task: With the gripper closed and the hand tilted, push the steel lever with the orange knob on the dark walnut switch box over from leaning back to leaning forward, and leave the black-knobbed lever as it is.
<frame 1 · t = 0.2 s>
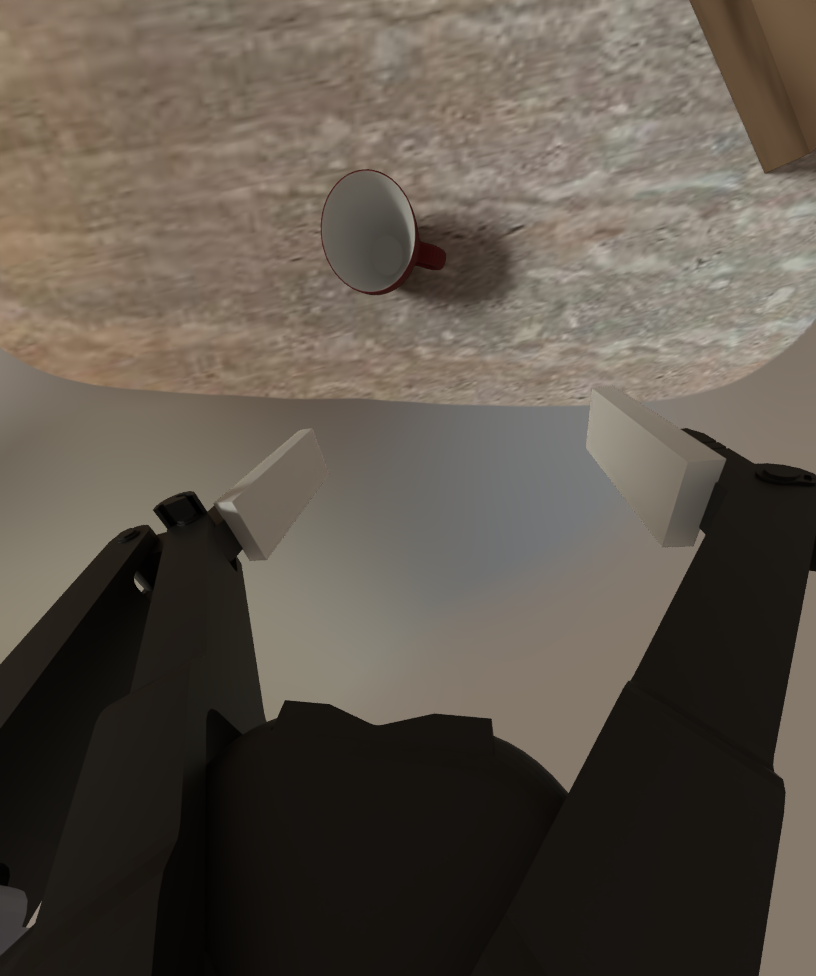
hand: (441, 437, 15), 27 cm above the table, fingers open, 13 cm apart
mug: (398, 257, 34), on the table
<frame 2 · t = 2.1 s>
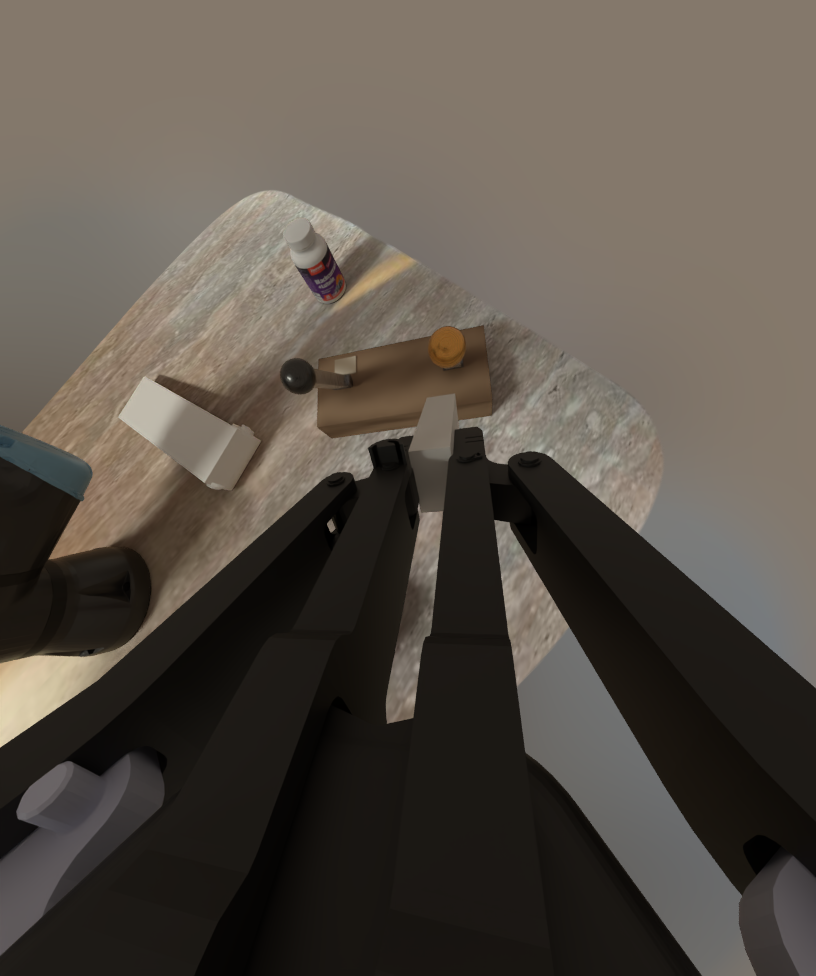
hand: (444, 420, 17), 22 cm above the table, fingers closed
orange knob lever: (450, 355, 30), point 10 cm above the table, hinge at -28.0°
pill bottle: (331, 291, 49), on the table
black knob lever: (321, 379, 33), point 10 cm above the table, hinge at -28.0°
switch box: (405, 393, 42), on the table
wall bracket: (195, 432, 51), on the table
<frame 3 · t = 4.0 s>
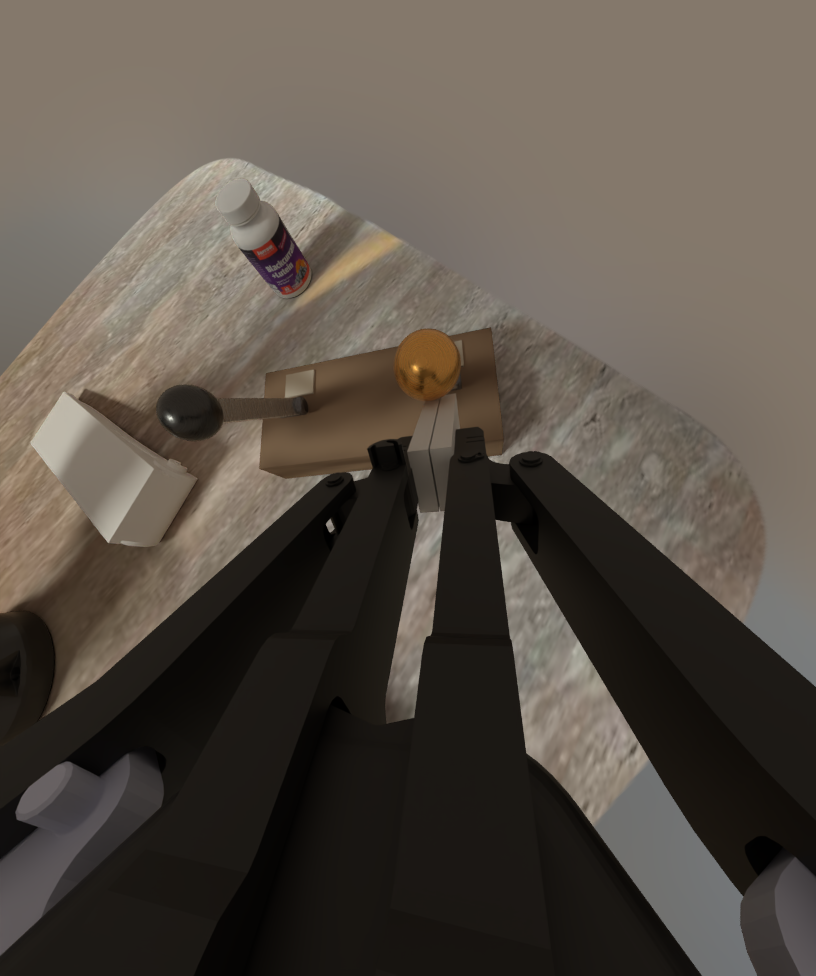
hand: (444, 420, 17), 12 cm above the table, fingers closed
orange knob lever: (438, 375, 19), point 10 cm above the table, hinge at -26.9°, touching gripper
pill bottle: (294, 282, 38), on the table
black knob lever: (248, 410, 22), point 10 cm above the table, hinge at -28.0°
switch box: (383, 420, 31), on the table
wall bracket: (122, 464, 40), on the table
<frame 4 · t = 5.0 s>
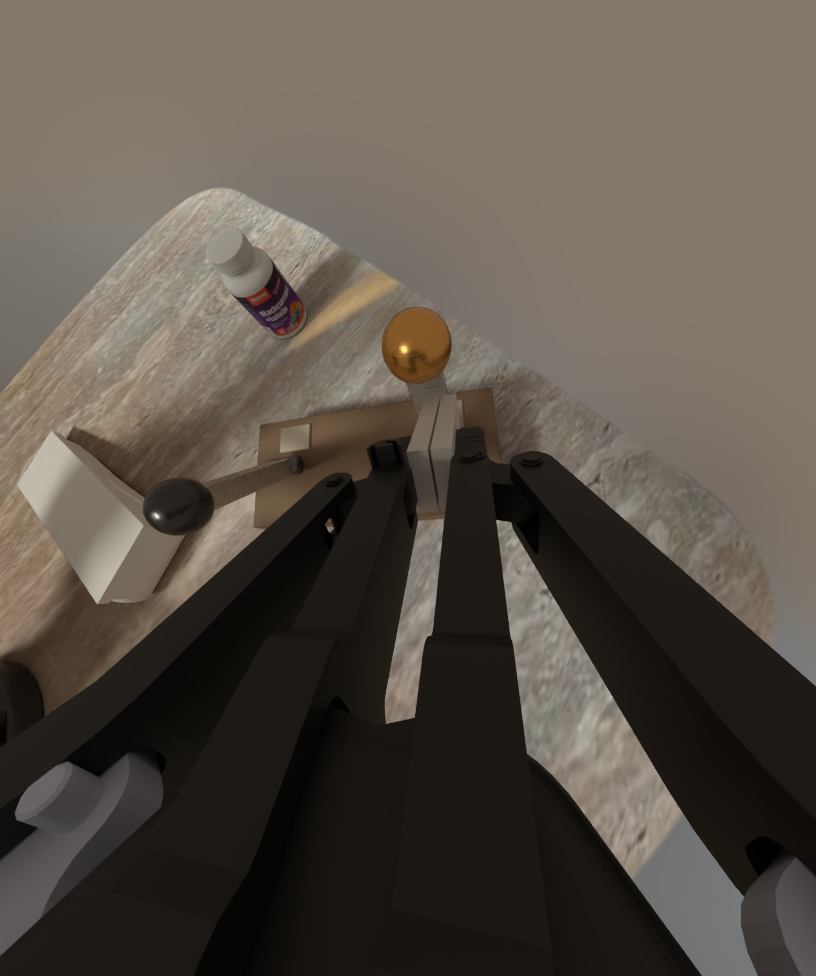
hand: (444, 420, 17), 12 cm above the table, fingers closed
orange knob lever: (433, 405, 19), point 11 cm above the table, hinge at 6.5°, touching gripper
pill bottle: (289, 321, 37), on the table
black knob lever: (241, 483, 22), point 10 cm above the table, hinge at -28.0°
switch box: (381, 472, 30), on the table
wall bracket: (112, 507, 39), on the table
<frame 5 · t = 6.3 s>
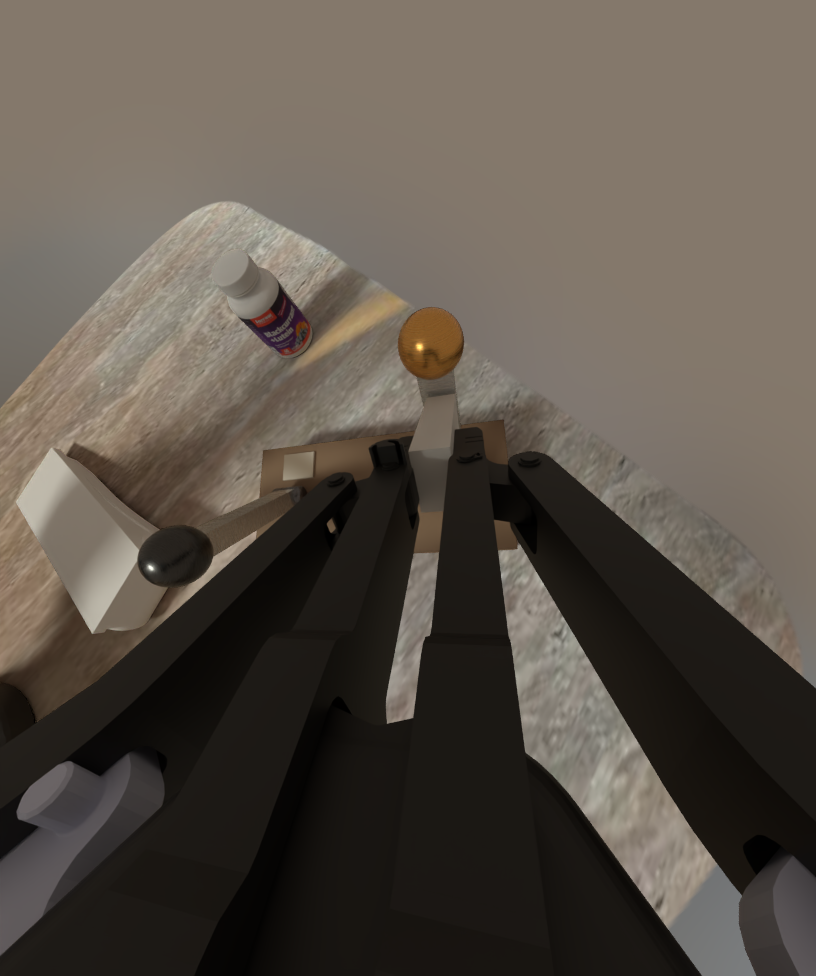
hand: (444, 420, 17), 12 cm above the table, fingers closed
orange knob lever: (444, 422, 19), point 10 cm above the table, hinge at 26.5°, touching gripper
pill bottle: (294, 340, 37), on the table
black knob lever: (242, 521, 21), point 10 cm above the table, hinge at -28.0°
switch box: (386, 500, 29), on the table
wall bracket: (111, 527, 38), on the table
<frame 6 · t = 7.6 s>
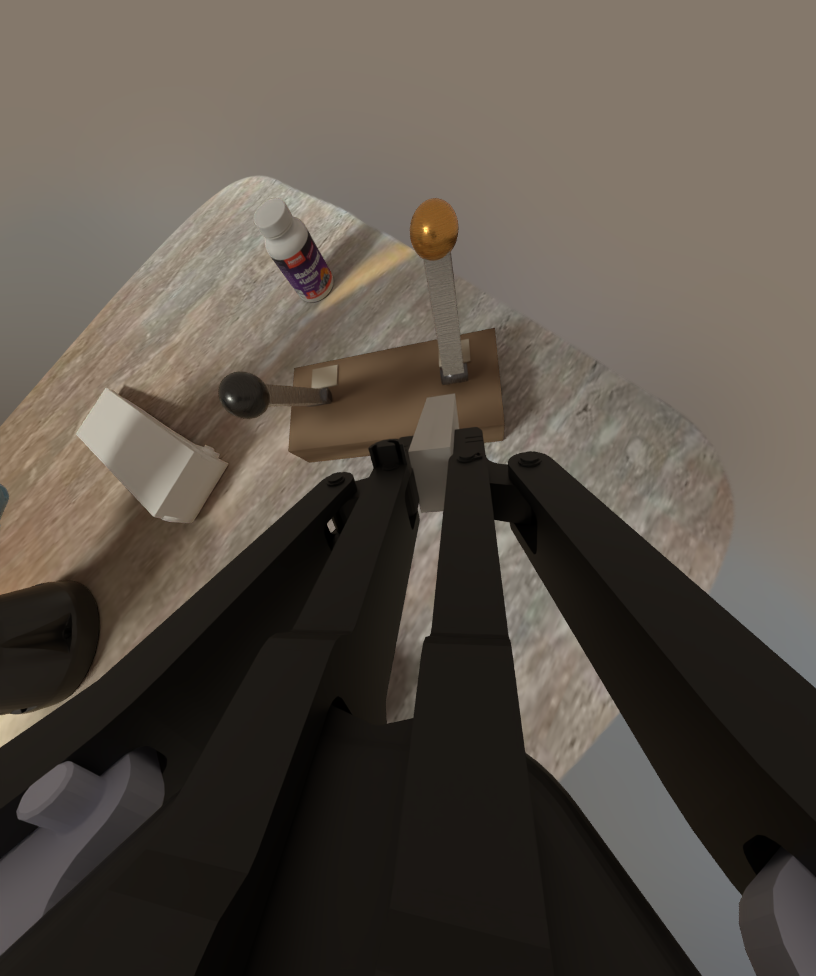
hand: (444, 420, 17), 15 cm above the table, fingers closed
orange knob lever: (445, 308, 24), point 10 cm above the table, hinge at 26.5°
pill bottle: (317, 288, 42), on the table
black knob lever: (285, 396, 26), point 10 cm above the table, hinge at -28.0°
switch box: (397, 410, 35), on the table
wall bracket: (158, 452, 44), on the table
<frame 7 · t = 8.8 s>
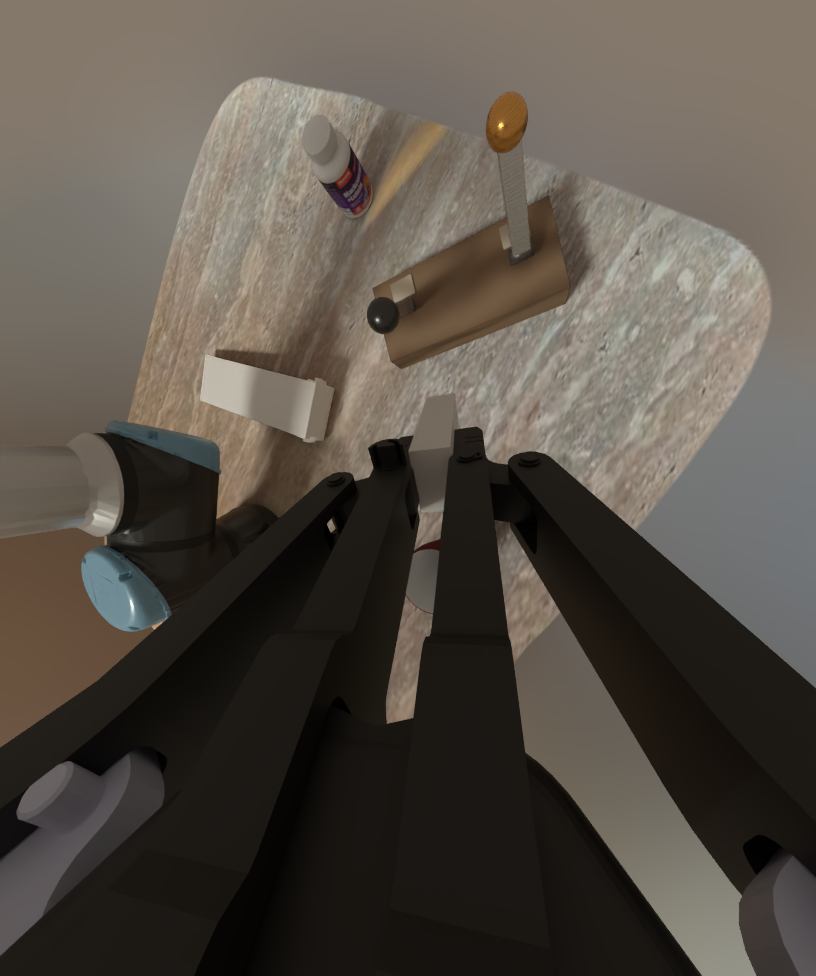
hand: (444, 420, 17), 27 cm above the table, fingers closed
mug: (455, 548, 45), on the table
orange knob lever: (514, 193, 29), point 10 cm above the table, hinge at 26.5°
pill bottle: (358, 200, 45), on the table
black knob lever: (394, 311, 34), point 10 cm above the table, hinge at -28.0°
switch box: (466, 302, 41), on the table
wall bracket: (270, 397, 55), on the table
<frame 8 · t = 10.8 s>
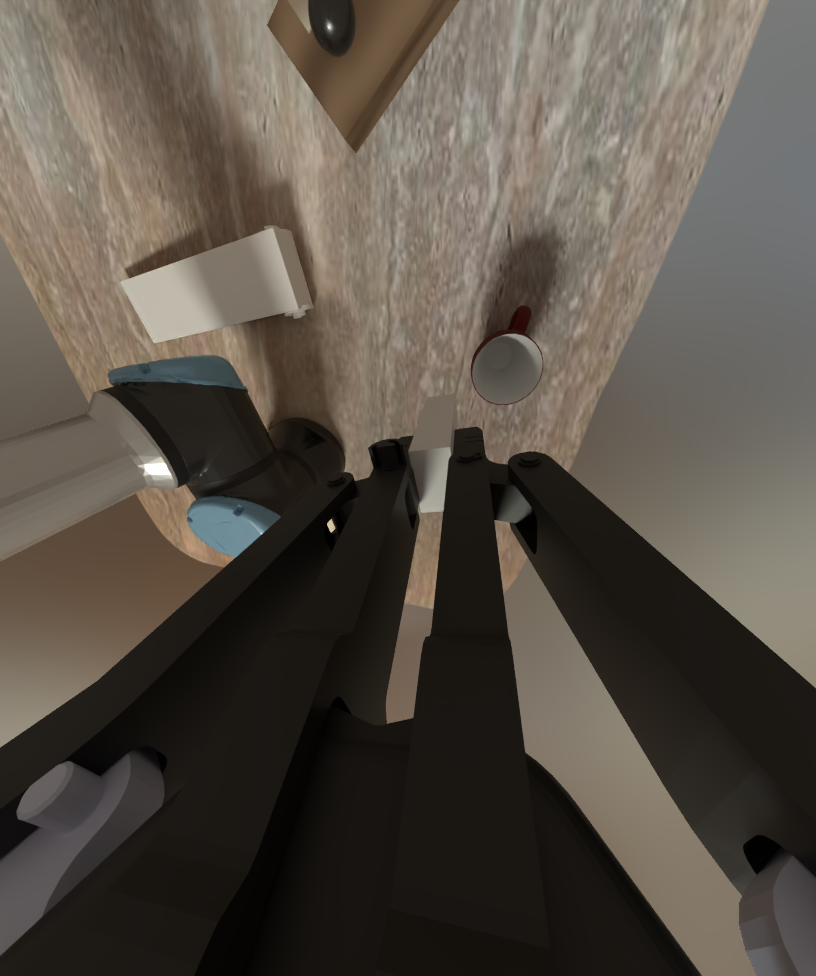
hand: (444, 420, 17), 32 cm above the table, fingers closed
mug: (501, 346, 43), on the table
black knob lever: (330, 23, 24), point 10 cm above the table, hinge at -28.0°
wall bracket: (224, 294, 46), on the table
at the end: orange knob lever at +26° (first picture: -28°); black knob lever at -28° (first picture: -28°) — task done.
